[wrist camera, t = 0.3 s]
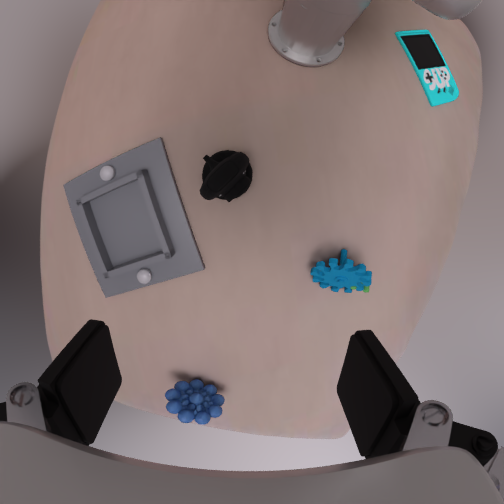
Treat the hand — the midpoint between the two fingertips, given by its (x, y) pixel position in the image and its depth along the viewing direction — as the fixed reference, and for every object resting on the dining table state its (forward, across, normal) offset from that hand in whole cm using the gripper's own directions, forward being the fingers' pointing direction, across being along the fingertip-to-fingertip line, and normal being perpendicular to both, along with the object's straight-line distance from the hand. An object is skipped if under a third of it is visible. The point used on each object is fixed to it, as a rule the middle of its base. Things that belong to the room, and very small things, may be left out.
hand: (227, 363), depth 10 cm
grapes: (+35, +8, +35) cm, 50 cm away
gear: (+35, -17, +8) cm, 40 cm away
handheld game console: (+35, -34, -33) cm, 59 cm away
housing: (+35, +18, +2) cm, 39 cm away
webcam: (+35, +2, -6) cm, 35 cm away
